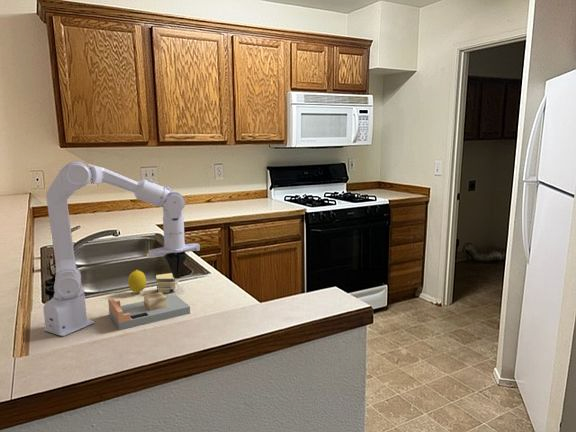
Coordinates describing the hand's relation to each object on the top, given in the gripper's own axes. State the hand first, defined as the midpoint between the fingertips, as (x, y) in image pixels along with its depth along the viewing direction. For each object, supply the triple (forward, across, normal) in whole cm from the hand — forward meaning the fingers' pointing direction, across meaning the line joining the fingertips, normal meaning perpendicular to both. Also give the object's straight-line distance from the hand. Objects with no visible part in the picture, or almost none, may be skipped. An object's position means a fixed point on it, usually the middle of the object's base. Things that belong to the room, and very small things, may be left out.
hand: (176, 277), depth 124 cm
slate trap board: (+9, -9, 0) cm, 13 cm away
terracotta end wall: (+7, -16, 0) cm, 18 cm away
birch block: (+7, -6, 0) cm, 10 cm away
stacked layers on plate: (+10, +2, +16) cm, 19 cm away
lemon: (+10, -6, +19) cm, 22 cm away
